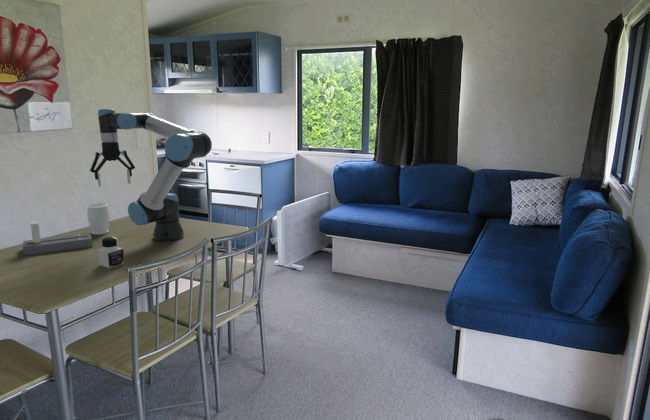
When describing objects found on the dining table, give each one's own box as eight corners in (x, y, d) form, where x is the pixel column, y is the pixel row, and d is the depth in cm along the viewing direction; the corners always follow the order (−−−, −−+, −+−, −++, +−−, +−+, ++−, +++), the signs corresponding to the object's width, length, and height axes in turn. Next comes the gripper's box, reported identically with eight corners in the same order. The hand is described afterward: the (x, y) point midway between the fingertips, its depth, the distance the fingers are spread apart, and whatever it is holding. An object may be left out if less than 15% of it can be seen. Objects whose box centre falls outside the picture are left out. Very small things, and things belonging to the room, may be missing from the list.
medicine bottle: (109, 268, 197) (106, 241, 194) (99, 265, 200) (96, 238, 198) (124, 263, 203) (122, 237, 200) (114, 260, 206) (111, 234, 204)
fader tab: (41, 243, 222) (38, 220, 219) (41, 247, 216) (38, 223, 214) (33, 244, 220) (30, 221, 217) (33, 248, 215) (30, 224, 212)
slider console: (90, 240, 235) (89, 232, 234) (92, 246, 225) (91, 238, 224) (24, 249, 221) (23, 240, 220) (23, 255, 211) (22, 246, 210)
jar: (102, 236, 243) (99, 207, 239) (84, 234, 245) (81, 206, 241) (115, 230, 253) (112, 203, 249) (98, 229, 255) (95, 202, 251)
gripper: (135, 139, 238) (139, 181, 242) (80, 142, 224) (85, 186, 229) (138, 140, 231) (142, 183, 236) (82, 143, 218) (88, 188, 223)
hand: (114, 184), depth 232 cm, fingers open, 13 cm apart
